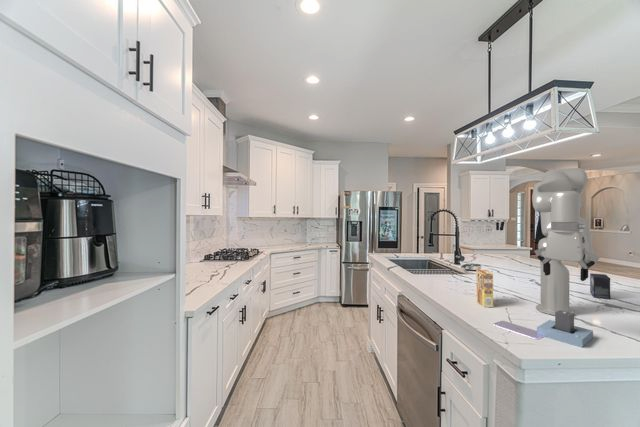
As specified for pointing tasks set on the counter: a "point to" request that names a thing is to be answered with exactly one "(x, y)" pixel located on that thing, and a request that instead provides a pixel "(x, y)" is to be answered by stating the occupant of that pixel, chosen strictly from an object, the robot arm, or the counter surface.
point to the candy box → (485, 288)
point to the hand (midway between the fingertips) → (564, 277)
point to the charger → (564, 321)
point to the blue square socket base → (566, 334)
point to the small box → (600, 286)
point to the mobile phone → (519, 330)
